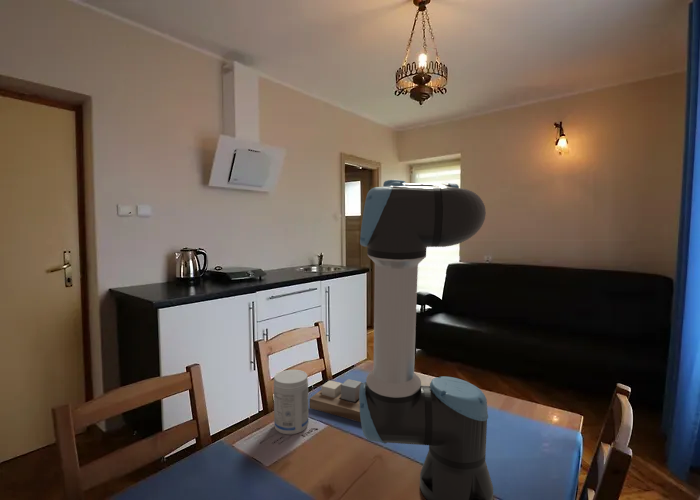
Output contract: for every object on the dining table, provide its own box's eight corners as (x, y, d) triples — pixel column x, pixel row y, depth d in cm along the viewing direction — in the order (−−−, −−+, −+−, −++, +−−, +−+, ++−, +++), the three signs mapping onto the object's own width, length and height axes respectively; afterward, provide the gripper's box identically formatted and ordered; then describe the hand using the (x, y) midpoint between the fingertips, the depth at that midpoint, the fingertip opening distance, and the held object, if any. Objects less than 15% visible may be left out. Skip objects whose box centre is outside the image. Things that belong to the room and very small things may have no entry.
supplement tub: (297, 413, 109) (297, 366, 108) (315, 427, 102) (315, 376, 101) (267, 424, 103) (267, 374, 102) (284, 440, 96) (284, 386, 95)
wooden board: (375, 426, 103) (375, 415, 103) (309, 408, 113) (309, 398, 112) (391, 404, 115) (392, 395, 115) (331, 389, 125) (331, 381, 125)
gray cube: (354, 402, 111) (355, 388, 110) (341, 398, 113) (341, 384, 112) (361, 395, 115) (361, 382, 115) (347, 392, 117) (348, 379, 117)
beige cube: (334, 402, 114) (334, 389, 114) (321, 399, 116) (321, 385, 116) (341, 396, 118) (342, 383, 118) (329, 393, 120) (329, 380, 120)
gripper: (398, 228, 112) (396, 304, 113) (410, 228, 123) (409, 296, 125) (375, 228, 115) (374, 301, 117) (389, 228, 127) (388, 294, 128)
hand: (392, 299), depth 121 cm, fingers closed
